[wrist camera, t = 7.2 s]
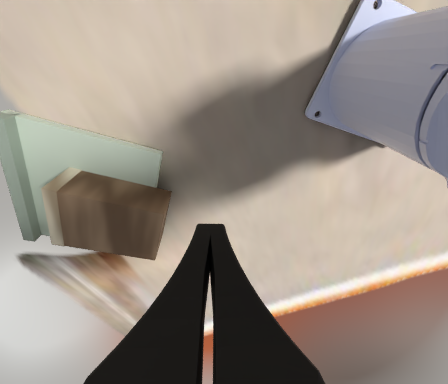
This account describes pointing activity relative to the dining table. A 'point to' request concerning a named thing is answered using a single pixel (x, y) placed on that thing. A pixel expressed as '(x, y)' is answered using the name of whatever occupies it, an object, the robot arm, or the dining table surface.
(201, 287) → the robot arm
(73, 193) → the walnut block
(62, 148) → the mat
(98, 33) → the dining table surface
